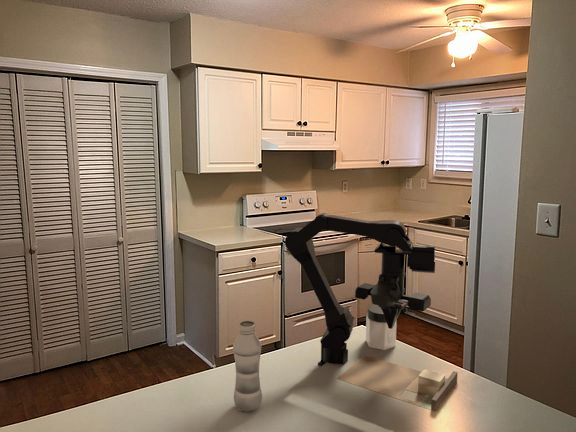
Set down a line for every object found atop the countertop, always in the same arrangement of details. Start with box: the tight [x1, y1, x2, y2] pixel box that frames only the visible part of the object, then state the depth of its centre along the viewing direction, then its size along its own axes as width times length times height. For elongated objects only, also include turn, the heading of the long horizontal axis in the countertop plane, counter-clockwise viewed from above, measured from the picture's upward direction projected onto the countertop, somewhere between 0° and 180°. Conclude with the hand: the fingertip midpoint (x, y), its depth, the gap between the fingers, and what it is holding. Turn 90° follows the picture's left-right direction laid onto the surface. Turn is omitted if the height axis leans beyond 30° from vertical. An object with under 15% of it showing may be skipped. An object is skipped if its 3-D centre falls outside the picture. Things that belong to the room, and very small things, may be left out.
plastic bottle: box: [232, 320, 263, 413], centre depth 106 cm, size 6×7×20 cm
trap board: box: [336, 355, 459, 412], centre depth 117 cm, size 25×16×4 cm, turn 54°
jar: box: [365, 304, 397, 351], centre depth 138 cm, size 9×8×12 cm
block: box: [417, 368, 446, 396], centre depth 112 cm, size 5×4×4 cm
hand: (390, 328), depth 123 cm, fingers closed
